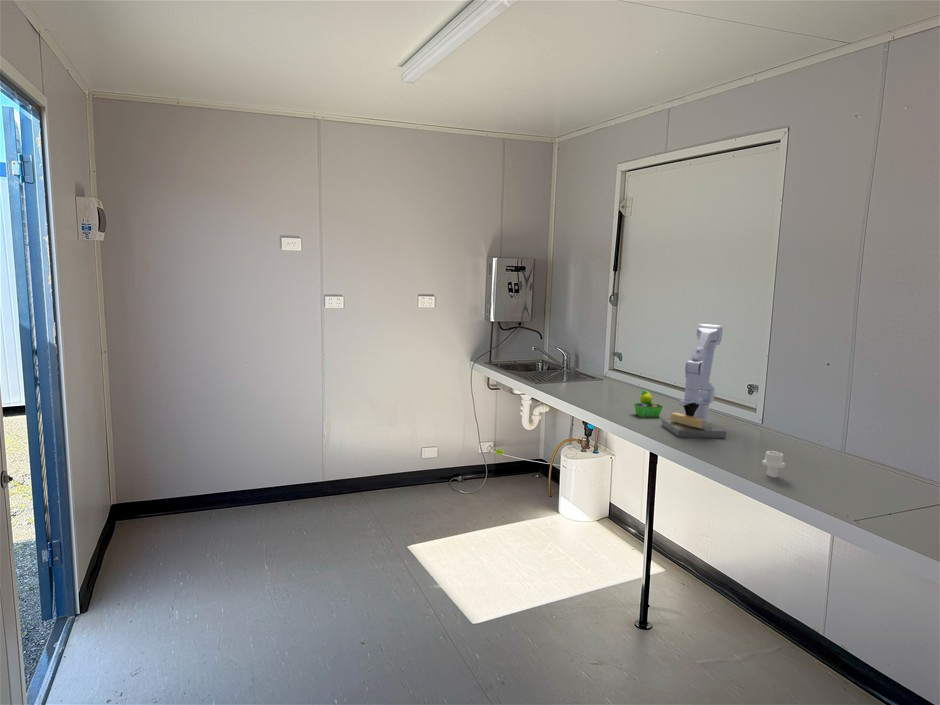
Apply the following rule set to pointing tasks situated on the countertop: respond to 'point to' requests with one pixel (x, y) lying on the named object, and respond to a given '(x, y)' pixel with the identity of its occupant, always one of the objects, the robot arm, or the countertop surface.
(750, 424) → the countertop surface
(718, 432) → the plate
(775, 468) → the pipe fitting
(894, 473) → the countertop surface
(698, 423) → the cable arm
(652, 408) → the fruit basket
